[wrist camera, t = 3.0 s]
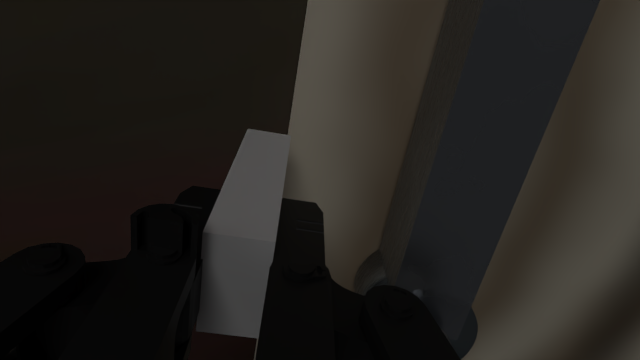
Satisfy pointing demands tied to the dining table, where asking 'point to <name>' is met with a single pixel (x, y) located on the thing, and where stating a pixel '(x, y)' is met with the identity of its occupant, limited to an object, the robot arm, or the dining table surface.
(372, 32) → the pivot plate
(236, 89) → the dining table surface
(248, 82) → the dining table surface
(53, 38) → the dining table surface
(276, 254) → the robot arm
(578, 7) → the swing link
